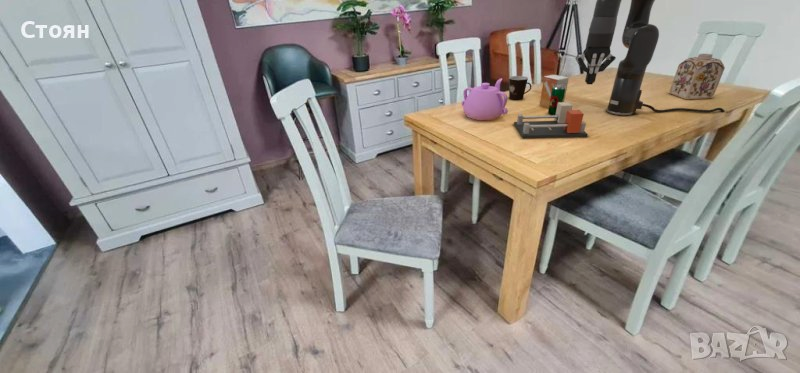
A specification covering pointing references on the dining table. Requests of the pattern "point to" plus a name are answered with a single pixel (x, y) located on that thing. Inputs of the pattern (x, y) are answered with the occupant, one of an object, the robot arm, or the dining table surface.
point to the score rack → (545, 128)
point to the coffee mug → (517, 87)
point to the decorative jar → (697, 77)
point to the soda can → (556, 98)
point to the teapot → (485, 102)
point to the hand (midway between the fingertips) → (589, 83)
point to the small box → (547, 88)
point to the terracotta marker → (573, 121)
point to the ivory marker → (562, 111)
